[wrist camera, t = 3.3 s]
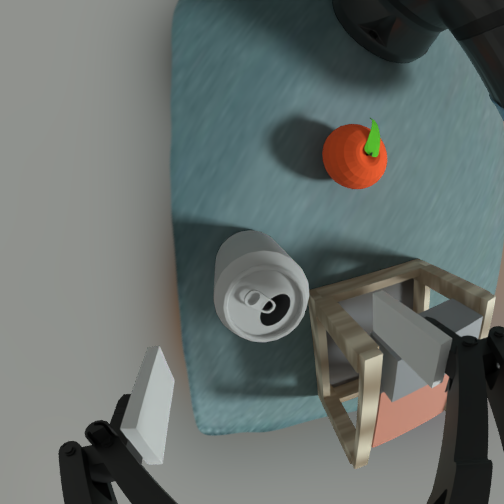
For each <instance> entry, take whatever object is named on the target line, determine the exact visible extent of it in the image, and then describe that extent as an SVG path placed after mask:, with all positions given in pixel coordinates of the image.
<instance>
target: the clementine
mask: <svg viewBox="0 0 504 504" xmlns="http://www.w3.org/2000/svg"><path fill="white" fill-rule="evenodd" d="M370 119H371V118H370ZM322 155H323V163H324V166H325V169H326V171H327V172H328V174H329V175H330V177H331V178H332V179H333V180H334V181H335V182H337V183H338V184H340V185H342V186H344V187H347V188H351V189H363V188H366V187H369V186H372V185H373V184H374V183H376V182H377V181H378V180H379V179H380V178H381V176H382V175H383V174H384V171H385V169H386V165H387V152H386V149H385V146H384V144H383V142H382V140H381V138H380V133H379V129H378V125H377V123H376V122H375V121H374V120H373V119H372V127H371V129H369V128H367V127H365V126H362V125H358V124H348V125H344V126H340V127H339V128H337V129H335V130H334V131H333V132H332V133H331V134H330V135H329V136H328V137H327V139H326V141H325V143H324V146H323V152H322Z"/></svg>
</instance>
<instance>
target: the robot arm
mask: <svg viewBox="0 0 504 504" xmlns="http://www.w3.org/2000/svg"><path fill="white" fill-rule="evenodd" d="M333 7H334V11H335V14H336V16H337V18H338V20H339V21H340V23H341V24H342V26H343V27H344V28H345V30H346V31H347V32H348V33H349V34H350V35H351V36H352V37H353V38H354V39H355V40H356V41H357V42H358V43H359V44H361V45H362V46H363V47H364V48H366V49H367V50H369V51H370V52H372V53H373V54H375V55H377V56H379V57H381V58H383V59H386V60H388V61H392V62H396V63H409V62H412V61H414V60H416V59H418V58H420V57H422V56H423V55H424V54H425V53H426V52H427V51H428V49H429V47H430V46H431V45H432V43H433V42H434V41H435V39H436V38H437V36H438V35H439V34H440V32H442V31H444V30H446V29H449V30H450V31H451V33H452V34H453V35H454V37H455V38H456V40H457V41H458V43H459V44H460V45H461V47H462V48H463V50H464V51H465V53H466V54H467V56H468V57H469V59H470V61H471V62H472V64H473V65H474V67H475V69H476V70H477V72H478V74H479V75H480V77H481V79H482V81H483V83H484V84H485V86H486V88H487V90H488V92H489V96H490V99H491V100H492V102H493V103H494V104H495V106H496V107H497V109H498V111H499V113H500V115H501V117H502V119H503V121H504V0H333ZM373 331H374V332H375V333H376V334H377V335H378V336H379V337H380V338H381V339H382V340H383V341H384V342H385V343H386V344H387V345H388V346H389V347H390V348H391V349H392V350H393V351H395V352H396V353H397V354H398V355H399V356H400V357H401V358H402V359H403V360H404V361H405V362H406V363H407V364H408V365H409V366H410V367H411V368H412V369H413V370H414V371H415V372H416V373H417V374H418V375H419V376H420V377H421V378H422V379H423V380H424V381H425V382H426V383H427V384H428V385H429V386H430V387H431V388H433V387H435V386H437V385H438V384H440V383H442V382H443V378H444V375H445V374H447V375H448V376H449V379H448V383H447V386H446V390H445V392H447V404H446V416H445V425H444V433H443V440H442V447H441V453H440V458H439V464H438V469H437V474H436V478H435V482H434V486H433V490H432V493H431V495H430V497H429V499H428V502H427V504H488V501H489V494H490V487H491V479H492V467H493V466H492V461H491V460H488V458H487V454H488V406H487V398H488V400H489V403H490V406H491V409H492V412H493V415H494V418H495V421H496V425H497V428H498V431H499V435H500V439H501V443H502V446H503V451H504V327H500V326H496V327H493V328H491V329H490V330H489V334H488V337H486V338H482V339H477V338H476V337H474V336H469V335H467V336H462V337H461V336H459V335H458V334H456V333H455V332H453V331H452V330H451V329H449V328H448V327H445V325H443V324H441V323H440V322H439V321H437V320H436V319H434V318H431V317H427V316H426V317H424V318H423V317H421V316H420V315H419V314H417V313H416V312H414V311H413V310H411V309H410V308H408V307H407V306H405V305H404V304H403V303H401V302H400V301H398V300H397V299H395V298H394V297H392V296H391V295H389V294H388V293H386V292H385V291H383V290H382V291H379V292H376V293H373ZM174 382H175V380H174V378H173V376H172V374H171V372H170V369H169V367H168V365H167V362H166V360H165V358H164V355H163V353H162V350H161V348H160V346H154V347H149V348H147V351H146V354H145V356H144V359H143V362H142V365H141V367H140V370H139V373H138V376H137V379H136V381H135V384H134V388H133V390H132V393H131V394H126V395H125V394H124V395H123V396H122V397H121V398H120V400H119V401H118V403H117V406H116V409H115V411H114V415H113V417H112V419H111V422H110V424H109V423H108V422H107V421H103V420H100V421H95V422H93V423H91V424H90V425H89V426H88V427H87V428H86V431H85V437H86V438H87V439H88V440H89V442H90V443H91V444H92V445H90V446H85V447H81V446H80V444H78V443H77V442H75V441H69V442H66V443H64V444H63V445H62V446H61V447H60V449H59V466H60V475H61V483H62V491H63V497H64V502H65V504H118V503H117V500H116V497H115V494H114V491H113V488H112V485H111V482H113V481H116V483H117V484H118V486H119V487H120V488H121V490H122V491H123V493H124V494H125V495H126V497H127V498H128V499H129V501H130V502H131V503H132V504H178V503H176V502H175V501H174V500H173V499H172V498H171V497H170V496H169V494H168V493H167V492H165V490H164V489H163V488H162V487H161V486H160V485H159V484H158V483H157V482H156V481H155V480H154V479H153V478H152V476H151V475H150V474H149V473H148V472H147V471H146V470H145V468H144V467H143V466H142V465H141V463H142V458H143V459H144V460H145V462H146V463H147V464H163V457H164V450H165V441H166V434H167V427H168V420H169V413H170V406H171V400H172V394H173V388H174Z"/></svg>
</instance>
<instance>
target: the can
mask: <svg viewBox="0 0 504 504" xmlns="http://www.w3.org/2000/svg"><path fill="white" fill-rule="evenodd" d="M308 299H309V286H308V281H307V278H306V276H305V274H304V272H303V270H302V268H301V267H300V266H299V265H298V264H297V263H296V262H295V261H294V260H293V259H292V258H291V257H290V256H289V255H288V254H287V253H286V252H285V251H284V250H283V249H282V248H281V247H280V246H279V245H278V244H277V243H276V242H275V241H274V240H273V239H272V238H271V237H270V236H268V235H266V234H264V233H262V232H259V231H252V230H248V231H242V232H238V233H236V234H234V235H232V236H230V237H229V238H228V239H227V240H226V241H225V242H224V243H223V244H222V245H221V247H220V249H219V251H218V253H217V255H216V262H215V277H214V304H215V309H216V313H217V315H218V317H219V318H220V320H221V321H222V323H223V324H224V326H226V327H227V328H228V329H229V330H231V331H232V332H233V333H234V334H237V335H238V336H240V337H242V338H244V339H247V340H249V341H253V342H269V341H274V340H278V339H280V338H282V337H284V336H286V335H288V334H289V333H290V332H291V331H292V330H294V329H295V328H296V327H297V326H298V324H299V323H300V321H301V320H302V318H303V316H304V314H305V310H306V307H307V303H308Z"/></svg>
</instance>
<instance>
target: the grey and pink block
mask: <svg viewBox="0 0 504 504" xmlns="http://www.w3.org/2000/svg"><path fill="white" fill-rule="evenodd" d="M419 315H420V316H421V317H423V318H424V317H426V316H427V317H431V318H434V319H436V320H437V321H439V322H440V323H441V324H443V325H445V327H448V328H449V329H451V330H452V331H453V332H455V333H456V334H458V335H459V336H461V337H462V336H467V335H469V336H474V337H476V338H477V339H478V338H479V333H480V329H481V324H482V319H483V316H482V315H480V314H479V313H477V312H475V311H474V310H472V309H470V308H469V307H467V306H465V305H463V304H462V303H460V302H458V301H457V300H455V299H453V298H452V299H450V300H448V301H446V302H444V303H441V304H439V305H437V306H435V307H433V308H430V309H428V310H426V311H424V312H421V313H419ZM370 337H371V338H372V339H373V340H374V341H375V342H376V343H377V344H378V346H379V350H380V351H381V352H382V353H383V361H382V373H381V384H380V393H379V401H378V408H377V415H376V422H375V428H374V434H373V439H372V445H371V447H376V446H378V445H381V444H383V443H385V442H387V441H389V440H391V439H393V438H396V437H398V436H400V435H402V434H404V433H406V432H408V431H410V430H411V429H413V428H415V427H417V426H419V425H421V424H423V423H424V422H426V421H428V420H430V419H431V418H433V417H435V416H436V415H438V414H440V413H441V412H443V411H444V408H445V405H446V402H447V392H445V390H446V386H447V383H448V379H449V376H448V375H447V374H445V375H444V378H443V382H442V383H440V384H438V385H437V386H435V387H433V388H431V387H430V386H429V385H428V384H427V383H426V382H425V381H424V380H423V379H422V378H421V377H420V376H419V375H418V374H417V373H416V372H415V371H414V370H413V369H412V368H411V367H410V366H409V365H408V364H407V363H406V362H405V361H404V360H403V359H402V358H401V357H400V356H399V355H398V354H397V353H396V352H395V351H393V350H392V349H391V348H390V347H389V346H388V345H387V344H386V343H385V342H384V341H383V340H382V339H381V338H380V337H379V336H378V335H377V334H376V333H375V332H374V331H373V332H370Z"/></svg>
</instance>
